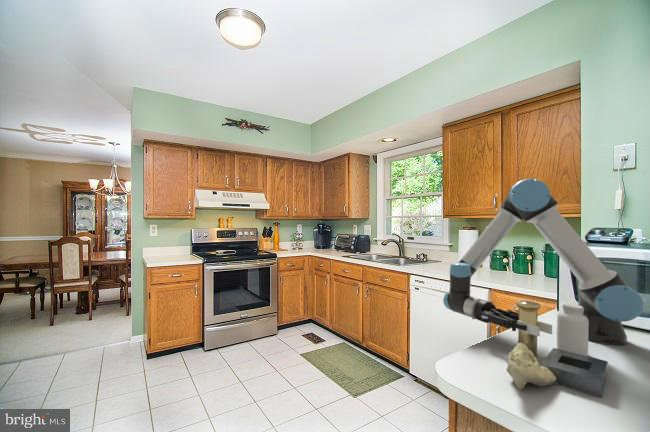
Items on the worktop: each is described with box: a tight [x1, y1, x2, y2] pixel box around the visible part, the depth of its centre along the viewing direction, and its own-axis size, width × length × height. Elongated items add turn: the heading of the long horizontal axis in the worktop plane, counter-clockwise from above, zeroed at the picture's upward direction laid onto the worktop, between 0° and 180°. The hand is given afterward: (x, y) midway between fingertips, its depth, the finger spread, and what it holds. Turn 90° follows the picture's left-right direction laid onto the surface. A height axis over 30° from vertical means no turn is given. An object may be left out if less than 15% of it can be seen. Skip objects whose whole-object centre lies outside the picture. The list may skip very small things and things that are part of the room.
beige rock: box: [506, 343, 556, 390], centre depth 80 cm, size 15×7×15 cm
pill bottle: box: [556, 303, 589, 356], centre depth 101 cm, size 8×8×15 cm
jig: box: [540, 347, 609, 399], centre depth 84 cm, size 16×12×4 cm
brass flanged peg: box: [515, 299, 541, 358], centre depth 99 cm, size 6×6×16 cm
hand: (544, 330), depth 94 cm, fingers closed on brass flanged peg, 5 cm apart
